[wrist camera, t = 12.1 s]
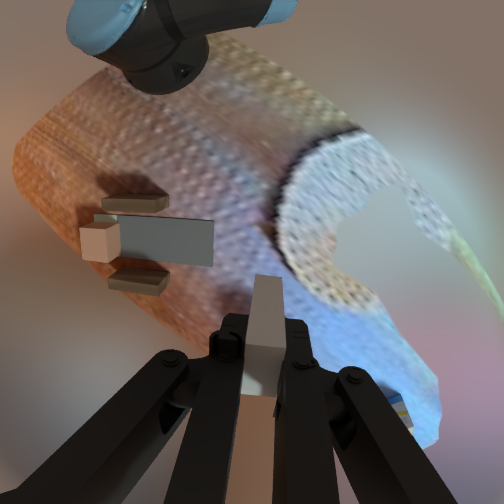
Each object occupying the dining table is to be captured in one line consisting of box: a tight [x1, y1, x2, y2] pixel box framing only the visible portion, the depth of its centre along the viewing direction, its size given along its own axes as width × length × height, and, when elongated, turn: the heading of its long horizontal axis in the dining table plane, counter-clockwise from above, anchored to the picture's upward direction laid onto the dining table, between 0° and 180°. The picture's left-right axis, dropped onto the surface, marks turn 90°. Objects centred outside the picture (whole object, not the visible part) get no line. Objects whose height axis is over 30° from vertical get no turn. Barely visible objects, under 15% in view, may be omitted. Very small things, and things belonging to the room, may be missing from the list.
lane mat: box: [94, 214, 214, 267], centre depth 48 cm, size 8×24×1 cm, turn 86°
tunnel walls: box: [101, 194, 170, 297], centre depth 45 cm, size 16×10×6 cm, turn 176°
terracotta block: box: [79, 221, 121, 263], centre depth 46 cm, size 6×6×5 cm
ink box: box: [387, 394, 414, 436], centre depth 53 cm, size 8×8×12 cm
